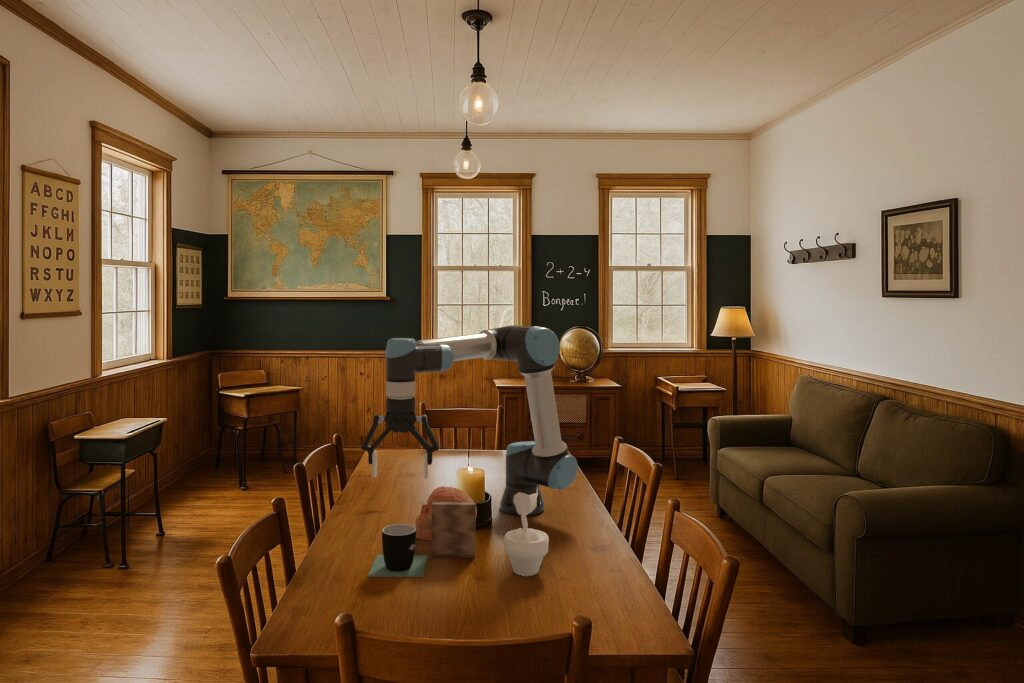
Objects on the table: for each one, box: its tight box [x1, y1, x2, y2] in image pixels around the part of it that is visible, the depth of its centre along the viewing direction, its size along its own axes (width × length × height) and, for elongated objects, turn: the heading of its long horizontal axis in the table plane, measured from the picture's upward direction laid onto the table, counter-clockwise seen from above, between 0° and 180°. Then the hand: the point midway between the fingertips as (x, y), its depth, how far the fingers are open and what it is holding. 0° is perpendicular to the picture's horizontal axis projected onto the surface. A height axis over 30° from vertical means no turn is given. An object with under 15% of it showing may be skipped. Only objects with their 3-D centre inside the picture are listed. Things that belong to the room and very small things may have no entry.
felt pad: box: [367, 554, 429, 578], centre depth 178 cm, size 14×14×1 cm
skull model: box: [414, 486, 478, 542], centre depth 201 cm, size 15×19×15 cm
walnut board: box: [430, 502, 477, 559], centre depth 187 cm, size 12×5×15 cm, turn 92°
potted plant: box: [503, 486, 550, 577], centre depth 175 cm, size 13×12×25 cm
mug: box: [381, 523, 417, 571], centre depth 178 cm, size 12×9×10 cm
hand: (400, 476), depth 177 cm, fingers open, 13 cm apart
